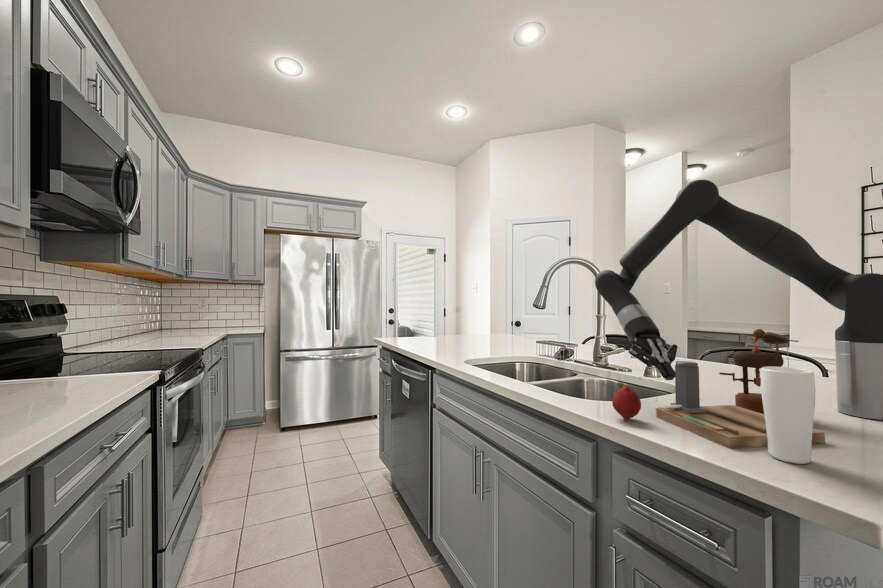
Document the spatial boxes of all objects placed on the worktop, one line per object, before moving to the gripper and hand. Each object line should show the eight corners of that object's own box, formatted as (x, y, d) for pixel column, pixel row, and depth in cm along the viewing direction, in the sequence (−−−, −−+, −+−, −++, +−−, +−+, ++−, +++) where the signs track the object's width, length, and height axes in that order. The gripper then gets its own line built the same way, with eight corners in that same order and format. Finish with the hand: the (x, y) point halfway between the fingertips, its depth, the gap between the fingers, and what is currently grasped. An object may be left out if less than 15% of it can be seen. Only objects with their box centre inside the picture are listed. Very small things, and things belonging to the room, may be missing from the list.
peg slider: (687, 406, 86) (686, 360, 86) (705, 412, 81) (704, 364, 81) (658, 407, 85) (657, 361, 85) (674, 413, 80) (673, 364, 80)
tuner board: (733, 413, 88) (732, 402, 88) (825, 443, 69) (824, 429, 69) (656, 416, 85) (655, 405, 86) (729, 448, 67) (729, 433, 67)
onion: (628, 414, 87) (627, 380, 87) (647, 422, 81) (646, 386, 82) (607, 416, 86) (606, 382, 86) (625, 424, 80) (624, 387, 80)
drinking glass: (760, 458, 62) (758, 369, 63) (764, 447, 67) (762, 364, 67) (817, 471, 57) (814, 374, 58) (817, 458, 62) (814, 369, 63)
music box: (794, 411, 90) (791, 329, 90) (810, 424, 80) (807, 332, 81) (716, 403, 97) (714, 327, 98) (723, 413, 88) (721, 329, 89)
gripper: (620, 315, 97) (653, 369, 85) (666, 315, 99) (705, 368, 86) (609, 333, 102) (638, 387, 90) (652, 333, 104) (687, 386, 92)
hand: (671, 378), depth 88 cm, fingers closed
